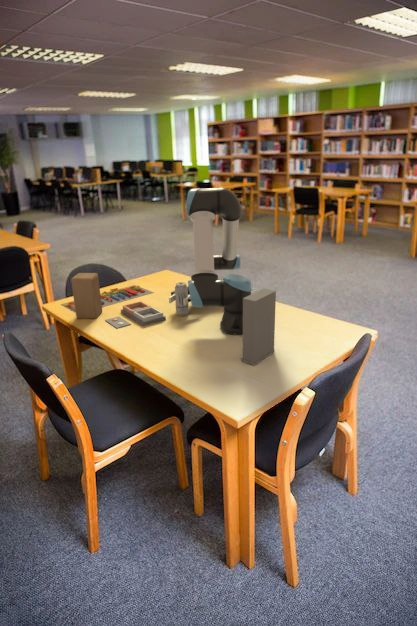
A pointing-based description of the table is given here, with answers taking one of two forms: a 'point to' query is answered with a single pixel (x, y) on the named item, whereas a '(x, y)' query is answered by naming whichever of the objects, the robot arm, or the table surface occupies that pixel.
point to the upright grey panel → (258, 326)
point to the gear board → (116, 296)
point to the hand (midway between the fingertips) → (176, 301)
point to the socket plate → (142, 313)
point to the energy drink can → (181, 298)
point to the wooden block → (86, 295)
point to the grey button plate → (117, 322)
